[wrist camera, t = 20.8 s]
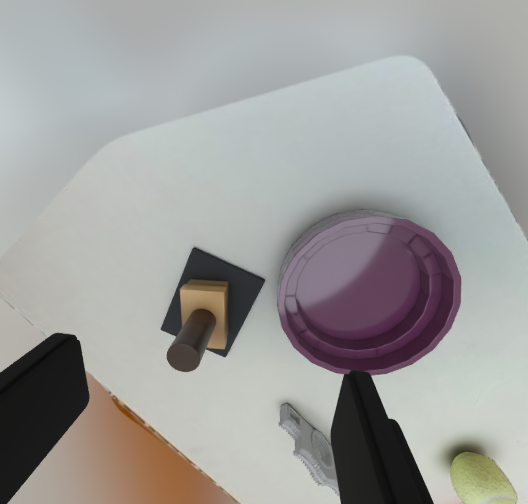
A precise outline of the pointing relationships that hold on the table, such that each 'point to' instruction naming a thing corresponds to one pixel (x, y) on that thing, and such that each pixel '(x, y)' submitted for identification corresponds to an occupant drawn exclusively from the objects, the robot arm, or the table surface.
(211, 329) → the wooden stamp
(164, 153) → the table surface
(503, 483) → the tennis ball
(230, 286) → the mat
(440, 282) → the bowl
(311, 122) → the table surface
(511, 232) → the table surface
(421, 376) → the table surface
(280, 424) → the lattice window wall
